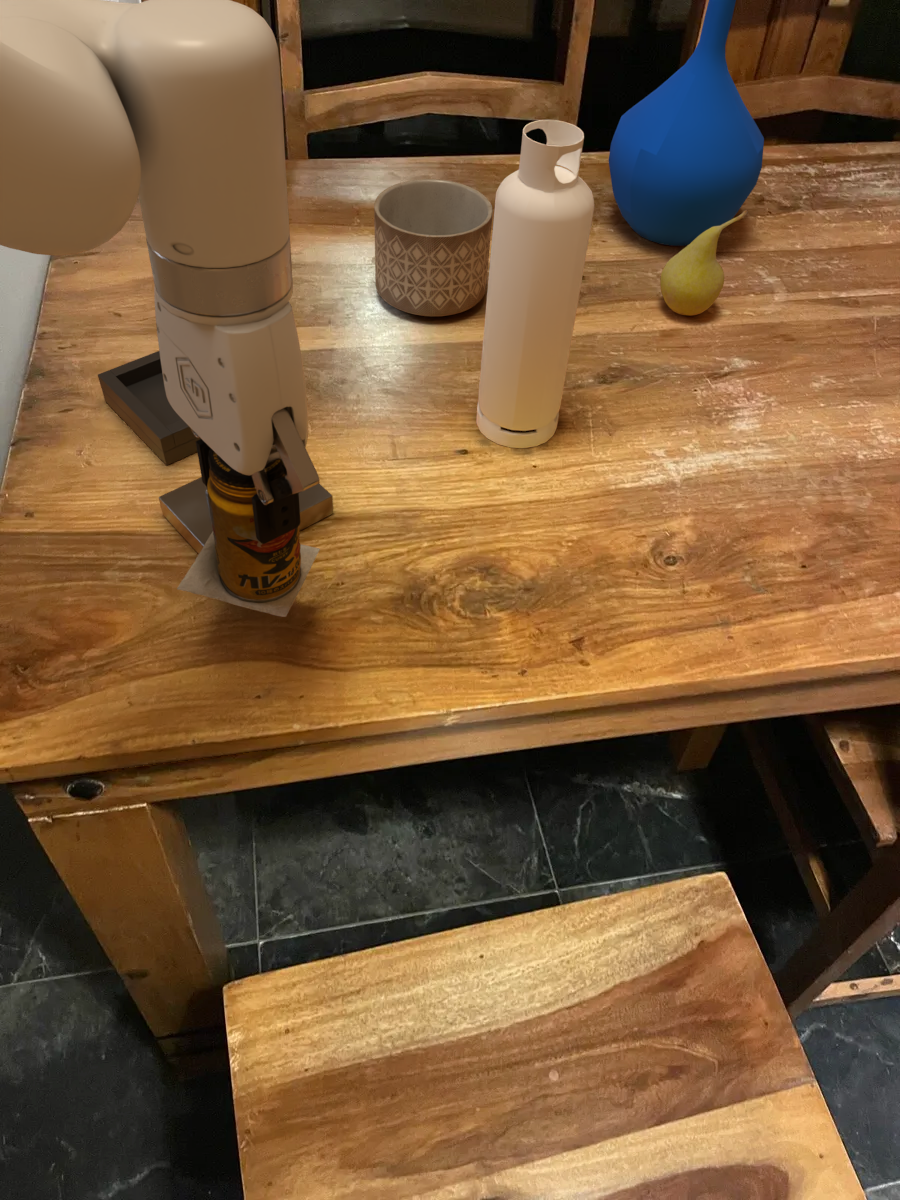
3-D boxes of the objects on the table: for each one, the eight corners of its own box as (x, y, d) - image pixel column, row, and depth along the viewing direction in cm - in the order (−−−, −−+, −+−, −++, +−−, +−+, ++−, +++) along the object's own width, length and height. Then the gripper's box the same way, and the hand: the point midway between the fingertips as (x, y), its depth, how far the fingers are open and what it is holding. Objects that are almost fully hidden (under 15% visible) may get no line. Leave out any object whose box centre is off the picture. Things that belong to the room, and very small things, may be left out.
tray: (166, 466, 86) (160, 439, 84) (105, 401, 92) (97, 374, 90) (284, 412, 92) (281, 386, 90) (219, 355, 98) (215, 328, 95)
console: (216, 574, 78) (210, 541, 75) (162, 515, 82) (153, 481, 79) (333, 513, 83) (331, 480, 80) (277, 460, 88) (273, 426, 85)
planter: (404, 335, 102) (405, 246, 94) (357, 278, 109) (355, 190, 101) (505, 309, 106) (514, 222, 98) (453, 256, 113) (458, 170, 105)
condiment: (286, 618, 68) (277, 495, 59) (176, 590, 68) (151, 464, 59) (320, 550, 72) (317, 427, 63) (218, 525, 73) (200, 399, 64)
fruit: (648, 293, 110) (672, 194, 101) (710, 293, 111) (739, 194, 101) (662, 326, 106) (688, 225, 96) (726, 325, 106) (758, 224, 97)
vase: (760, 262, 116) (850, -14, 93) (617, 266, 113) (674, -15, 91) (713, 191, 127) (783, -69, 105) (583, 194, 125) (625, -72, 102)
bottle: (516, 386, 97) (551, 102, 76) (573, 425, 93) (627, 137, 72) (459, 418, 93) (479, 127, 72) (516, 459, 89) (555, 166, 68)
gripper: (84, 217, 53) (140, 459, 67) (250, 364, 45) (275, 605, 59) (200, 185, 57) (230, 421, 70) (373, 316, 49) (370, 554, 62)
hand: (251, 503), depth 65 cm, fingers closed on condiment, 6 cm apart
